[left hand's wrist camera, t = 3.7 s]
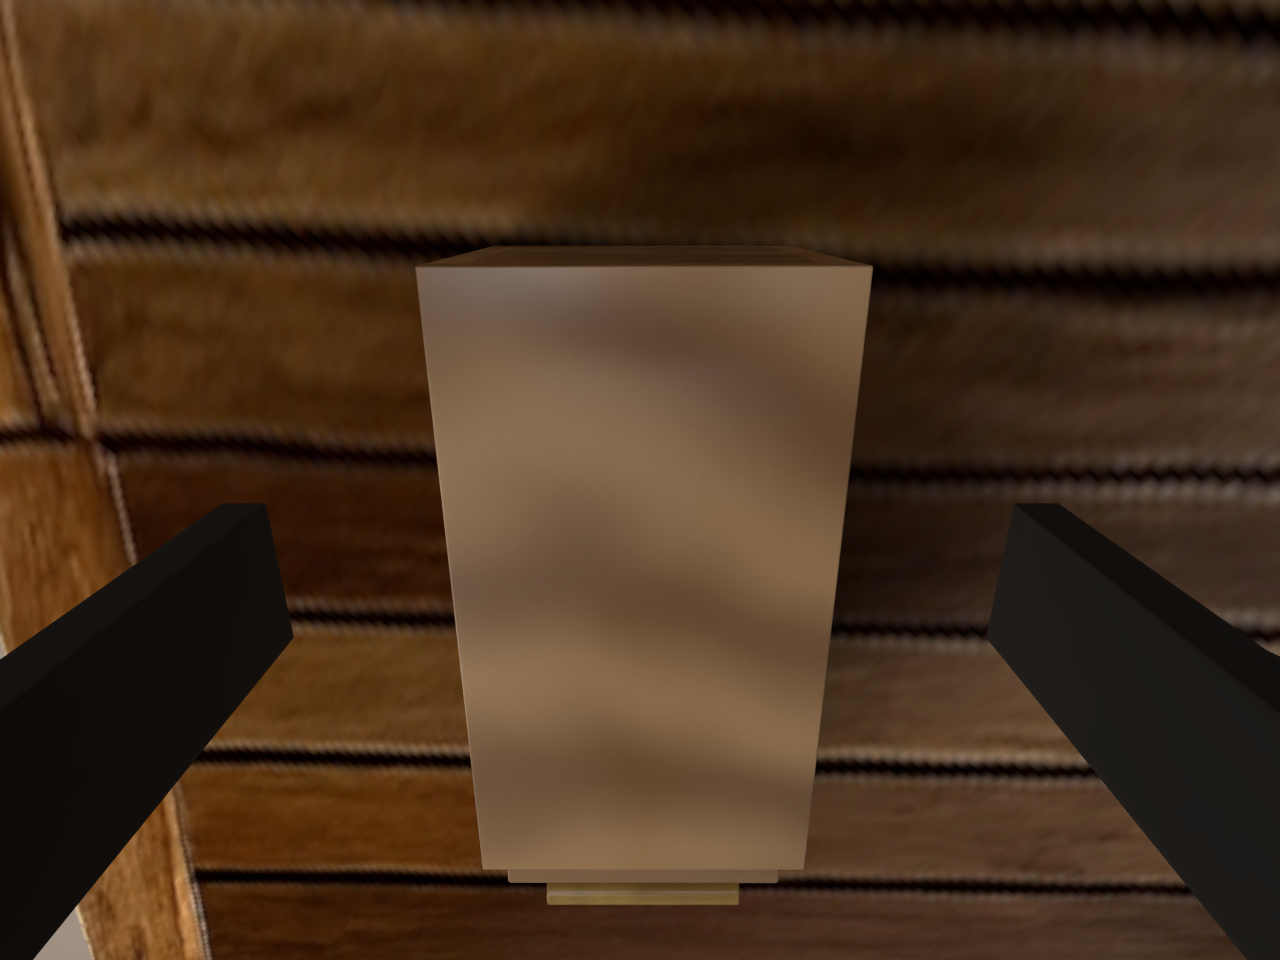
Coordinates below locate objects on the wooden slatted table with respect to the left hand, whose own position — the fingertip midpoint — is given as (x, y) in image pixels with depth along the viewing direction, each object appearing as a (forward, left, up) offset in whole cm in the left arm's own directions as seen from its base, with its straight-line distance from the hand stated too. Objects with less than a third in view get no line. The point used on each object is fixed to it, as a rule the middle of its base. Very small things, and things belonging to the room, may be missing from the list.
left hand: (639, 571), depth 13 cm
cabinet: (0, +6, -17) cm, 18 cm away
